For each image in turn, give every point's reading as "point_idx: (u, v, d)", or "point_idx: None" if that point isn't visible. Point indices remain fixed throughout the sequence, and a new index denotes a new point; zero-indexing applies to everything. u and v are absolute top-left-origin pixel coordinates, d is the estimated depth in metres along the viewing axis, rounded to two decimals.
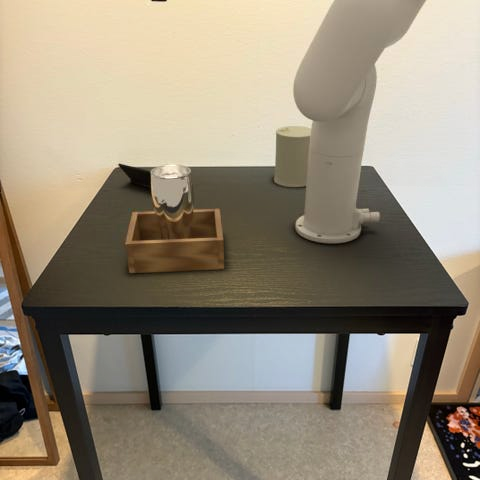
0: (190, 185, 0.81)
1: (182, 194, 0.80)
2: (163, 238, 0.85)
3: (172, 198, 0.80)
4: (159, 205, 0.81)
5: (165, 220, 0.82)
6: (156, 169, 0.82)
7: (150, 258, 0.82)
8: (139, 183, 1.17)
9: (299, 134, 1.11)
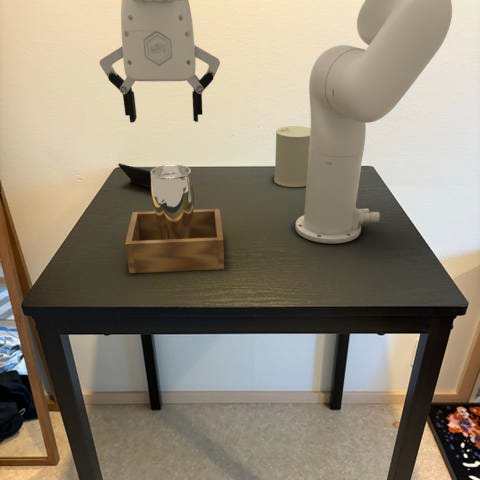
0: (190, 185, 0.81)
1: (182, 194, 0.80)
2: (163, 238, 0.85)
3: (172, 198, 0.80)
4: (159, 205, 0.81)
5: (165, 220, 0.82)
6: (156, 169, 0.82)
7: (150, 258, 0.82)
8: (139, 183, 1.17)
9: (299, 134, 1.11)
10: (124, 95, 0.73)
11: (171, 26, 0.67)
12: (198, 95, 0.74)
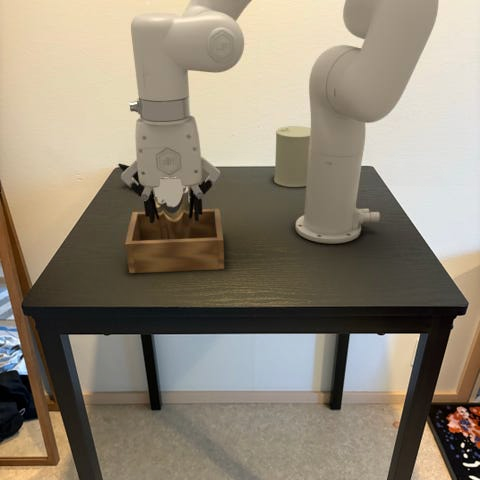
0: None
1: (182, 194, 0.80)
2: (163, 238, 0.85)
3: (172, 198, 0.80)
4: (159, 205, 0.81)
5: (165, 220, 0.82)
6: None
7: (150, 258, 0.82)
8: None
9: (299, 134, 1.11)
10: (145, 201, 0.82)
11: (180, 143, 0.75)
12: (198, 199, 0.83)
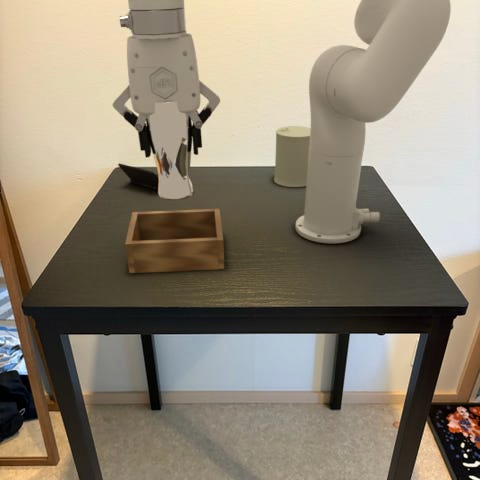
0: None
1: (179, 122, 0.73)
2: (160, 175, 0.79)
3: (168, 126, 0.73)
4: (155, 135, 0.74)
5: (161, 153, 0.76)
6: None
7: (150, 258, 0.82)
8: (139, 183, 1.17)
9: (299, 134, 1.11)
10: (139, 132, 0.76)
11: (176, 62, 0.69)
12: (197, 129, 0.76)
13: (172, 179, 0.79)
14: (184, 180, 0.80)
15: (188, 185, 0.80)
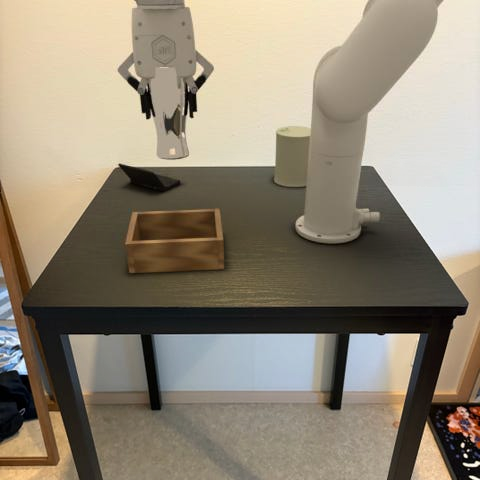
0: None
1: (177, 86, 0.82)
2: (159, 136, 0.88)
3: (167, 90, 0.82)
4: (155, 98, 0.83)
5: (160, 115, 0.85)
6: None
7: (150, 258, 0.82)
8: (139, 183, 1.17)
9: (299, 134, 1.11)
10: (141, 95, 0.84)
11: (175, 31, 0.78)
12: (193, 95, 0.85)
13: (169, 140, 0.87)
14: (180, 141, 0.88)
15: (184, 146, 0.89)
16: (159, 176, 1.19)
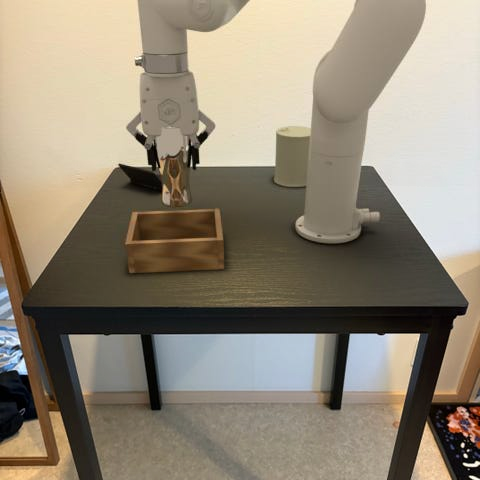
0: None
1: (181, 143, 0.89)
2: (164, 186, 0.94)
3: (172, 146, 0.88)
4: (160, 153, 0.90)
5: (165, 168, 0.91)
6: None
7: (150, 258, 0.82)
8: (139, 183, 1.17)
9: (299, 134, 1.11)
10: (147, 150, 0.91)
11: (180, 95, 0.84)
12: (196, 149, 0.92)
13: (173, 190, 0.94)
14: (184, 190, 0.95)
15: (187, 195, 0.96)
16: (159, 176, 1.19)
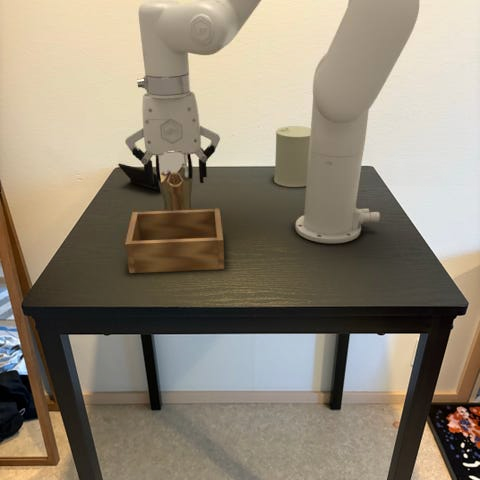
0: (190, 158, 0.92)
1: (182, 166, 0.91)
2: (166, 206, 0.97)
3: (174, 169, 0.91)
4: (162, 176, 0.92)
5: (167, 189, 0.94)
6: None
7: (150, 258, 0.82)
8: (139, 183, 1.17)
9: (299, 134, 1.11)
10: (144, 165, 0.92)
11: (181, 115, 0.86)
12: (203, 163, 0.93)
13: None
14: None
15: None
16: None
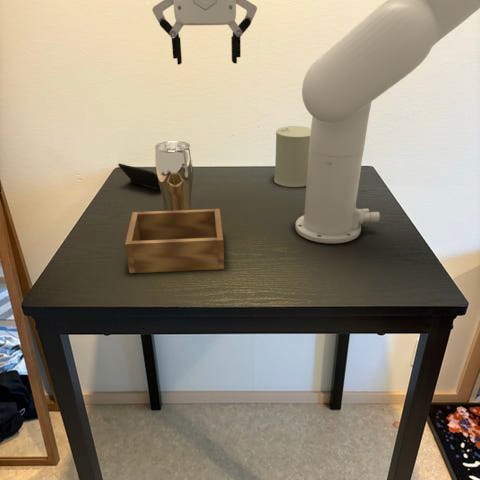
0: (189, 158, 0.92)
1: (182, 166, 0.91)
2: (166, 206, 0.97)
3: (174, 169, 0.91)
4: (162, 176, 0.92)
5: (167, 189, 0.94)
6: (160, 145, 0.93)
7: (150, 258, 0.82)
8: (139, 183, 1.17)
9: (299, 134, 1.11)
10: (173, 39, 0.84)
11: None
12: (237, 39, 0.84)
13: None
14: None
15: None
16: None
